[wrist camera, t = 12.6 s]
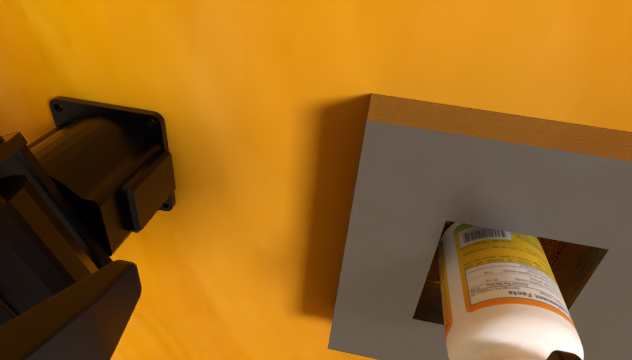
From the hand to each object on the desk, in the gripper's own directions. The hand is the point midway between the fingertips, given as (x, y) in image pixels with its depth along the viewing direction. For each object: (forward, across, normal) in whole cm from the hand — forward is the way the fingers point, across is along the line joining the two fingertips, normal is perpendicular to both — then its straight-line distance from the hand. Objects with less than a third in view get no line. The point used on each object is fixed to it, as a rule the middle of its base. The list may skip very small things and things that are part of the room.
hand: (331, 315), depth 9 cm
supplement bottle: (+13, -8, +8) cm, 17 cm away
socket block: (+13, -8, +8) cm, 17 cm away
